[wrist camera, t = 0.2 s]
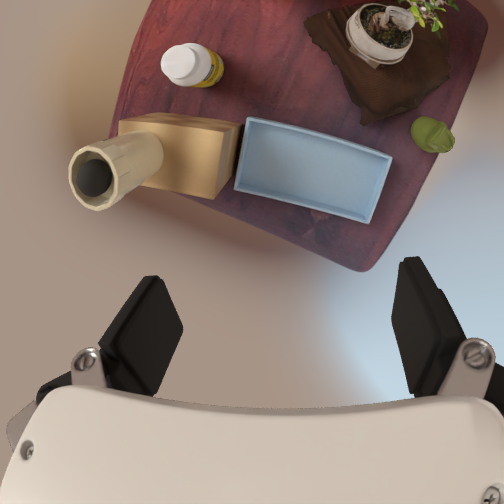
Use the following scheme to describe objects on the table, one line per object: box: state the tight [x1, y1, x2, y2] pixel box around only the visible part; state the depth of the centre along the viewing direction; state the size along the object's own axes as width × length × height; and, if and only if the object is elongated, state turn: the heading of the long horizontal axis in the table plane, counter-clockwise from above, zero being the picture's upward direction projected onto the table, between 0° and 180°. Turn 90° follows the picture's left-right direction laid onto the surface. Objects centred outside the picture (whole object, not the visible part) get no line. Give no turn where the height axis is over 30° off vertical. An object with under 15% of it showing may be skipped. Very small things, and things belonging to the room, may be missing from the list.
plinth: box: [118, 112, 242, 200], centre depth 39 cm, size 15×9×12 cm, turn 79°
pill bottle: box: [161, 43, 224, 88], centre depth 32 cm, size 6×6×12 cm
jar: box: [69, 129, 164, 211], centre depth 29 cm, size 7×7×11 cm
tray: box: [234, 116, 392, 224], centre depth 42 cm, size 23×12×3 cm, turn 79°
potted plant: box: [304, 0, 459, 126], centre depth 23 cm, size 20×19×25 cm
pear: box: [411, 116, 455, 153], centre depth 33 cm, size 6×5×10 cm
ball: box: [76, 159, 112, 197], centre depth 25 cm, size 4×4×4 cm
